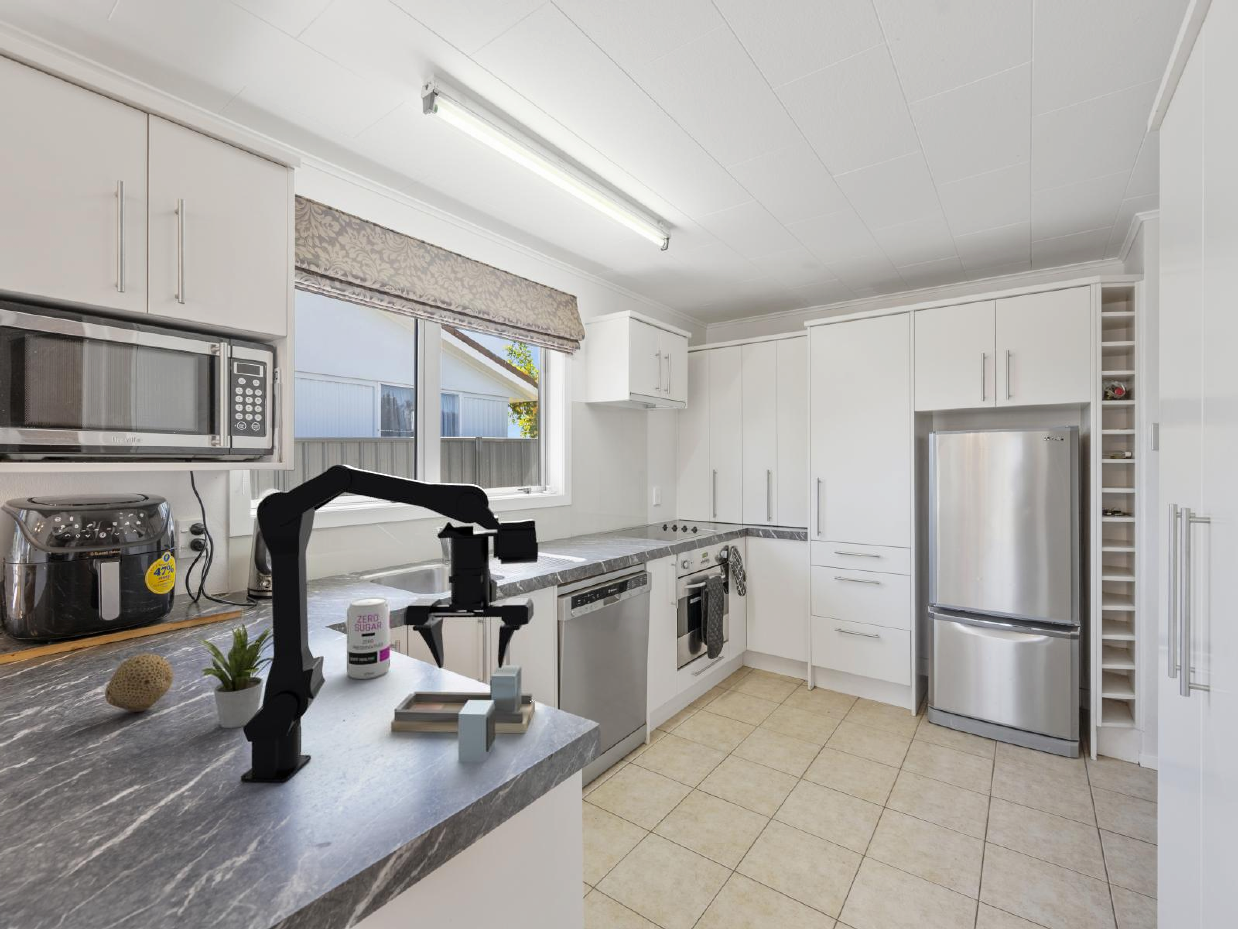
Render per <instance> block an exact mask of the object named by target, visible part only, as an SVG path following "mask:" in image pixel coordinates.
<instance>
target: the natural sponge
mask: <svg viewBox="0 0 1238 929" xmlns="http://www.w3.org/2000/svg"><path fill="white" fill-rule="evenodd" d="M172 668H173V667H172V666H171V664H170V663H169V662H168V660H167V659H165V658H163V657H162V656H160V655H158V654H151V653H141V654H137V655H134V656H131V657H130V658H128V659H126V660H125V661H124V662H123V663H121V665H119V667H118V668H117V669H116V671H114V673H113V675H112V677H111V679H110V681H109V682H108V684H107V686H106V688H105V691H104V697H105V700H106V702H107V703H108V704H109V705H111V706H113V707H118V708H120V709H123V710H126V711H129V712H135V713H140V712H144V711H146V710H148V709H150V708H151V707H153V706H154V704H156V702H158V701H159V700H160V699H161V698H162V697H163V696H164V695H165V694H166V693H167V692H168V691H169V689H170V687H171V686H172V684H173V683H174V681H173V680H174V672H173V669H172Z"/></svg>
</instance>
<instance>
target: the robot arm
mask: <svg viewBox="0 0 1238 929" xmlns="http://www.w3.org/2000/svg"><path fill="white" fill-rule="evenodd" d="M344 493H345V494H346V493H347V494H351V495H357V496H361V497H368V498H373V499H379V500H384V501H387V502H394V503H395V502H396V503H400V504H405V505H409V506H416V507H421V508H424V509H427V510H430V511H432V512H435V513H437V514H439V515H441V516H444V517H447V518H448V519H449V518H450V519H452V520H455V521H457V522H460V523H463V524H477V525H478V526H480V527H481V528H483V529H485V530H482V531H481V530H479V531H478V530H474V525H454V524H453V523H452V521H450V520H448V521H447V522H446V524H445V526H444V527H443V528H442V529H441V530H439V532H438V533H437V538H438V539H450V575H448V583H449V584H450V602H449V603H448V604H442V603H443V602H442V600H441V599H440V598H418V599H416V600H415V601H413V602H411V603H410V604H409V605H407V606H406V607H405V608H404V612H403V625H404V626H412V631H414V632H418V633H419V634H420V636H421V638H422V639H423V641H424V642H425V643H426V644H425V645H427V647H428V649H429V651H430V653H431V654H432V656H433V659H434V661H435V664H436V666H437V667H438V668H439V669H442V668H443V667H444V662H445V660H444V659H445V652H444V641H443V625H444V624H443V623H444V618H501V619H500V621H502V624H501V625H500V626H499V628H498V632H499V633H498V646H497V647H498V648H497V649H498V650H497V667H498V666H499V668H502V666H503V665H504V662H505V660H506V655H507V653H508V650H509V647H510V643H511V640H512V637H513V635H514V633H515V631H519V630H521V628H522V626H524V625H528V624H529V623H530V622H531V620H532V618H533V617H534V616H535V615H534V614H535V613H534V612H535V610H534V602H533V600H532V599H531V598H530V597H523V598H522V597H516V598H515V597H511V598H510V597H509V598H507V600H506V601H505V602H504V603H503V604H490V603H493V602H496V601H497V593H498V592H497V589H498V588H497V587H498V582H497V581H496V580H494V579H492V577H491V568H490V538H491V537H492V553H493V554H492V556H493V559H497V560H498V561H500V565H512V564H513V565H514V564H532V563H534V564H535V563H538V557H539V541H538V539H537V531H536V530H537V529H536V521H535V520H534V519H532V518H531V519H522V520H513V521H512V520H509V521H500V520H499V516H498V515H497V514H494V512H493V511H492V510H491V509H490V507H489V504H490V502H489V497H488V495H487V493H486V492H485V490H484V489H483V488H482V487H480V486H479V485H476V484H473V483H472V484H471V483H450V482H449V483H444V482H443V483H442V482H441V483H440V482H439V483H436V482H432V483H431V482H426V481H421V480H416V479H411V478H406V477H400V476H396V475H390V474H385V473H379V472H375V471H370V470H364V469H359V468H356V467H353V466H351V465H348V464H335V465H333V466H330V467H329V468H327V470H325V471H324V472H322V473H321V474H319V475H316V476H315V477H313V478H311V479H309V480H308V481H305V482H303V483H301V484H299V485H297V486H295V487H294V488H292V489H290V490H285V491H279V492H273V493H270V494H269V495H266V496H265V497H264V498H263V499H262V500H261V501H260V502H258V505H257V508H256V517H257V523H258V528H259V532H260V536H261V539H262V542H263V544H264V545H265V547H266V549H267V552H268V554H269V557H270V574H271V576H270V578H271V579H270V580H271V581H270V582H271V607H272V608H271V609H272V610H271V611H272V612H271V613H272V614H271V615H272V626H273V628H272V634H273V637H272V642H273V644H272V645H273V656H272V658H273V660H272V661H271V665H270V668H269V671H268V674H267V677H266V681H265V688H264V693H263V698H262V705H261V706H260V707H259V709H258V711H257V712H256V714H255V715H254V716H253V717H252V718H251V719H250V720H249V722H248V723H247V724H246V725H244V726H242V731H243V733H244V735H245V738H246V740H247V742H249V743H251V768H250V769H249V770H248V771H246V772H244V773H243V774H241V776H240V781H241V782H261V783H262V782H267V783H270V782H271V783H284V782H287V781H288V780H289V779H290V778H292V776H294V775H295V774H296V773H297V772H299V770H301V768H302V767H304V766H305V765H306V764H307V763H308V762H310V761H311V760H312V755H310V754H302V717H303V716H304V715H305V714H306V713H307V711H308V710H309V708H310V707H311V705H312V703H313V702H314V700H315V699H316V697H317V696H318V694H319V692H320V690H321V688H322V687H323V685H324V684H325V683H326V679H325V677H324V675H323V667H324V656H323V655H321V656H318V657H314V656H313V654H312V651H311V650H310V647H309V626H308V623H309V622H308V598H307V597H308V591H307V588H308V586H307V561H306V560H307V559H306V558H307V557H306V552H307V549H308V544H309V542H310V538H311V534H312V531H313V525H314V520H315V514H316V511H318V510H319V509H321V508H322V507H324V506H326V505H327V504H329V503H331V502H332V501H334V500H335V499H337V498H338V497H339V496H341V495H342V494H344Z"/></svg>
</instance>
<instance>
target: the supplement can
mask: <svg viewBox="0 0 1238 929" xmlns="http://www.w3.org/2000/svg"><path fill="white" fill-rule="evenodd" d="M387 600H388V599H386V598H385V597H364V598H359V599H355V600H354V599H353V600H352V601H351V602H350V603H349V604H350V605H349V606H348V608H347V610H346V674H347V675H348V676H350V677H351V678H352V679H356V680H367V679H374V678H378V677H381V676H383V675H384V674H386V673H387V671H389V669H390V667H391V658H390V657H391V606H390V605H389V603H388V601H387Z"/></svg>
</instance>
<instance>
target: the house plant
mask: <svg viewBox="0 0 1238 929" xmlns="http://www.w3.org/2000/svg"><path fill="white" fill-rule="evenodd" d="M229 629H230V630H231V633H232V635H233V641H232V642H233V644H232V648H231V649H229V651H228V653H227V660H228V661H227V660H226V658H225V656H224V655H223V653H222V652H221V651H220V650H219V649H218V647H217V646H216V645H214V644H213V643H211V642H209V641H207V640H205V639H202V638H196V637H195V639H196V640H198V641H200V642H202V643H203V644H204V645H205V646H206V647H207V648H209V650H208V649H206V648H202V647H201V649H202V650H204V651H206V653H207V652H208V653H209V654H210V655H211V656H212V657H211V661H212V666H213V668H211V667H209V668H208V667H207V668H203V669H201V671H202V672H203V674H202V675H201V677H203V676H204V677H205V676H208V675H212V676H214V677H216V678H217V679H219V681H220V682H221V683H219V684H217V685H215V686H214V688H213V693H214V699H215V703H216V709H217V715H218V719H219V724H220V725H219V726H220V727H222V728H224V729H226V728H227V729H234V728H235V729H236V728H240V727H244V726H245V725H246V724H247V723H248V722H249V720H250V719H251V718H252V717H253V716H254V715H255V714H256V712H257V711H258V710H259V709H260V702H261V697H262V692H263V685H264V679H263V678H261V677H258V676H257V675H258V674H259V673H260V672H261V671H263V669H265V668H266V667H267V666H268V665H269V664H270V663H272V661H273V657H267V658H264V659H261V660H260V658H262V656H261V655H262V654H263V652H265V650H266V649H267V648H269V647H270V646H271V645H273V641H272V642H270V643H269V644H267V645H266V646H265V647H263V645H265V643H266V642H268V640H270V639H272V638H273V633H272V631H271V630H273V625H272V626H270V627H269V628H267V629H266V630H264V631H262V633H261V634H260V635H259V636H258V637H257V639H254V640H253V641H250V642H248V641H249V638H248V632H247V630H246V629H247V628H246V626H245V625H244V623H243V622H242V623H241V629H240V627H238V628H237V629H236V630H234V629H233V628H232V627H231V626H229ZM270 631H271V632H270ZM270 634H271V635H270ZM268 635H269V636H268ZM217 660H218V661H219V662H217ZM258 660H260V661H258ZM257 661H258V662H257ZM266 661H267V663H266V664H265V665H264V666H263V667H261V669H260V668H259V667H258V666H259V665H261V664H262V663H264V662H266ZM219 663H220V664H219ZM221 665H222V667H223V668H224V669H223V668H222V667H221ZM259 669H260V670H259ZM254 674H255V675H254Z"/></svg>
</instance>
